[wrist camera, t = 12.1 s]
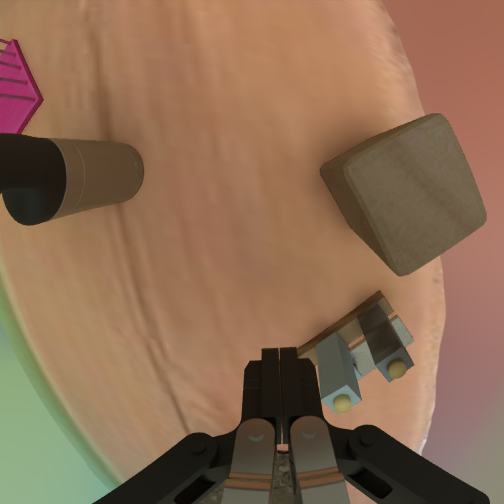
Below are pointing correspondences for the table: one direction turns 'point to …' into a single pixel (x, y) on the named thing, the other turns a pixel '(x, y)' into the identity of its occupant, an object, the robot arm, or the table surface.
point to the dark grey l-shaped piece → (368, 337)
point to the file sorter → (16, 90)
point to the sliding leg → (337, 374)
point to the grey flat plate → (362, 352)
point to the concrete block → (281, 486)
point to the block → (407, 192)
